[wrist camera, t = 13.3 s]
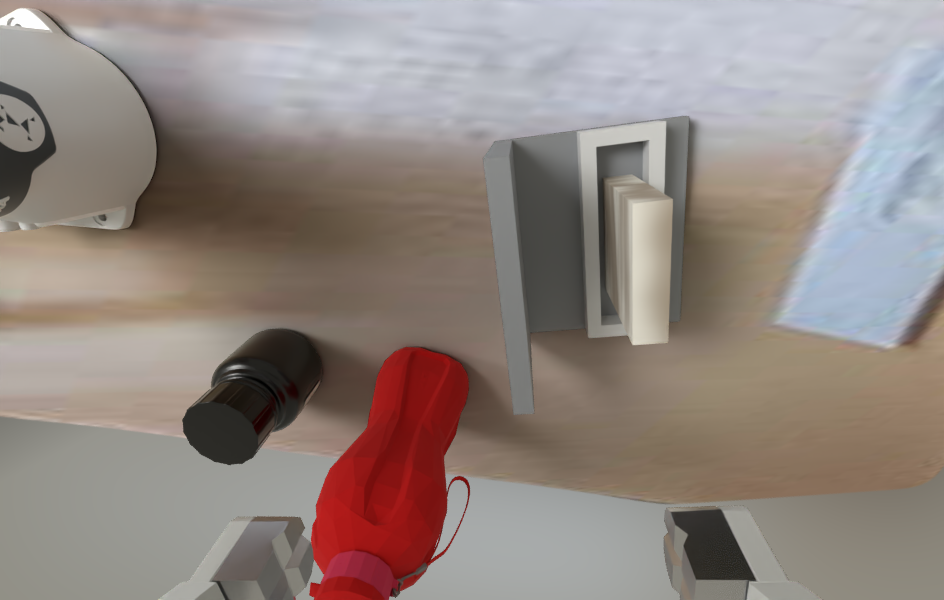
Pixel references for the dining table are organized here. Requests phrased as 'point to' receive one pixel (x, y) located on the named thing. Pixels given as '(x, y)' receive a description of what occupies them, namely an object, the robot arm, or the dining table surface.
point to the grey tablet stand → (571, 229)
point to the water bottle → (391, 482)
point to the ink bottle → (253, 396)
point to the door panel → (638, 256)
